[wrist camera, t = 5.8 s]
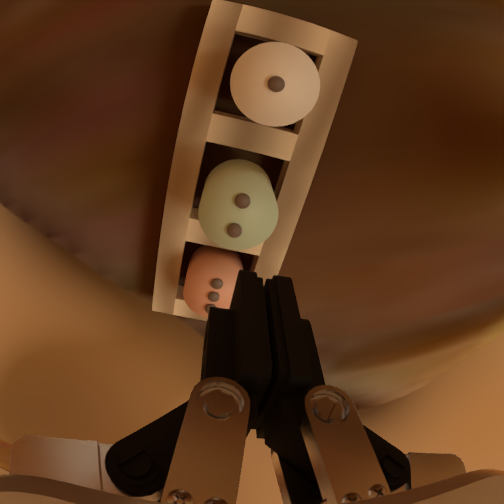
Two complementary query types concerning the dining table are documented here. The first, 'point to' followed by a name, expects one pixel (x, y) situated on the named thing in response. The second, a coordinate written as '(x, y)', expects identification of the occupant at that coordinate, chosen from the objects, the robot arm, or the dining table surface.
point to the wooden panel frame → (245, 139)
